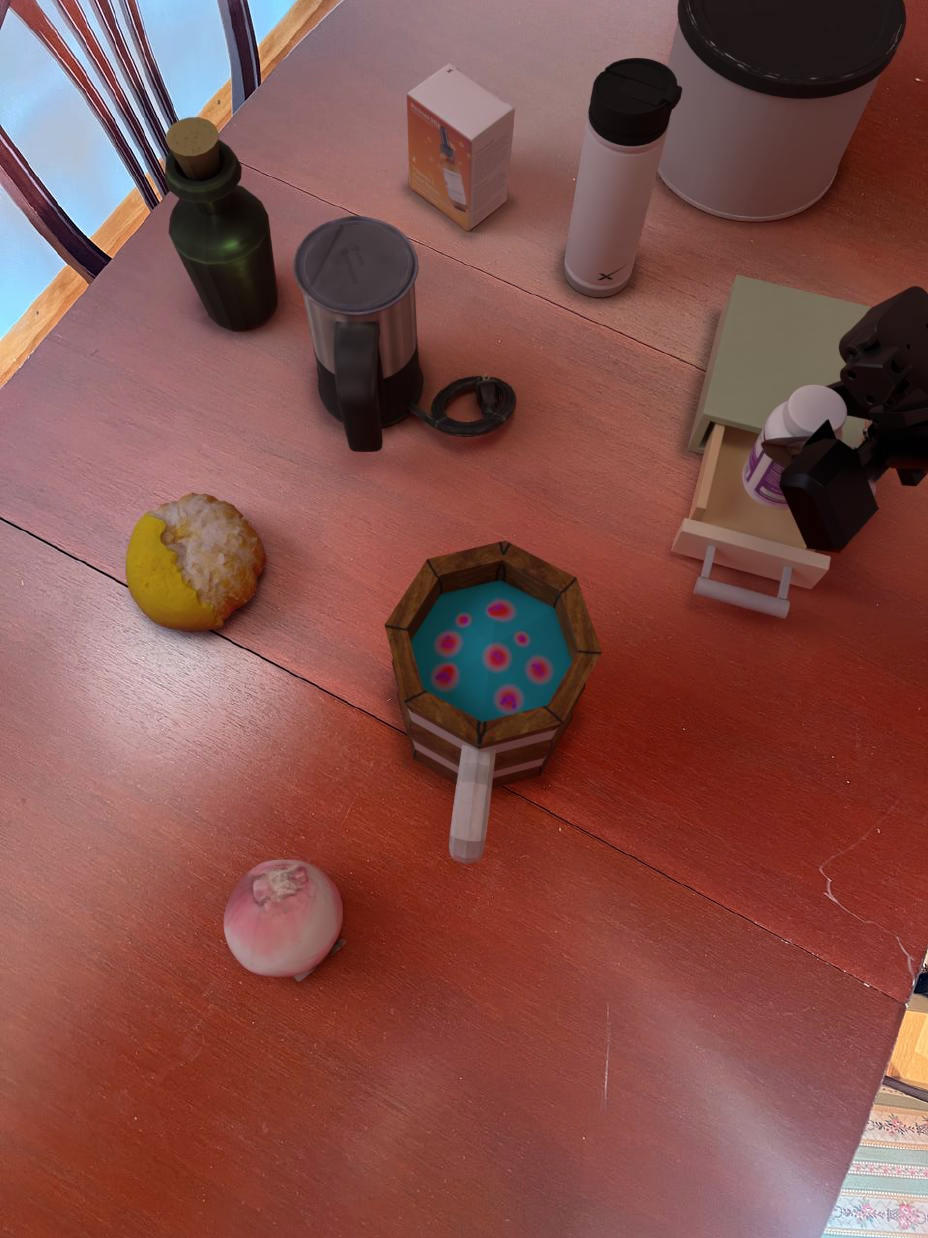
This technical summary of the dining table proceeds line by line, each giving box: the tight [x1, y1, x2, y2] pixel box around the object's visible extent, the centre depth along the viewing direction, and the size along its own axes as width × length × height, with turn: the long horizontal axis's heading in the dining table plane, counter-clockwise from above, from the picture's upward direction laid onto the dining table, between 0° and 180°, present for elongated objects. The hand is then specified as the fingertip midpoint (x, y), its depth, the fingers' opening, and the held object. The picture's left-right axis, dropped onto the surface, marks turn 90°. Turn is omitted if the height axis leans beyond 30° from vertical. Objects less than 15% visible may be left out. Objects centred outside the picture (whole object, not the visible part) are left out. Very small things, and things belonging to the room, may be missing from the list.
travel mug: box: [563, 57, 682, 298], centre depth 79 cm, size 6×7×20 cm
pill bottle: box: [742, 385, 847, 510], centre depth 69 cm, size 5×5×10 cm
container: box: [657, 0, 907, 223], centre depth 87 cm, size 19×19×15 cm
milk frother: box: [292, 215, 517, 453], centre depth 76 cm, size 14×16×15 cm
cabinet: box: [686, 274, 873, 456], centre depth 81 cm, size 15×13×6 cm
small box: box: [406, 62, 516, 232], centre depth 86 cm, size 8×6×10 cm
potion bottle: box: [164, 116, 279, 331], centre depth 78 cm, size 8×8×18 cm
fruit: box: [125, 492, 268, 633], centre depth 74 cm, size 11×10×8 cm
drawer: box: [671, 421, 832, 620], centre depth 76 cm, size 18×11×4 cm, turn 163°
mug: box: [383, 540, 603, 865], centre depth 65 cm, size 20×14×15 cm
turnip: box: [223, 859, 347, 983], centre depth 63 cm, size 8×8×7 cm
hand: (788, 422), depth 67 cm, fingers closed on pill bottle, 5 cm apart
